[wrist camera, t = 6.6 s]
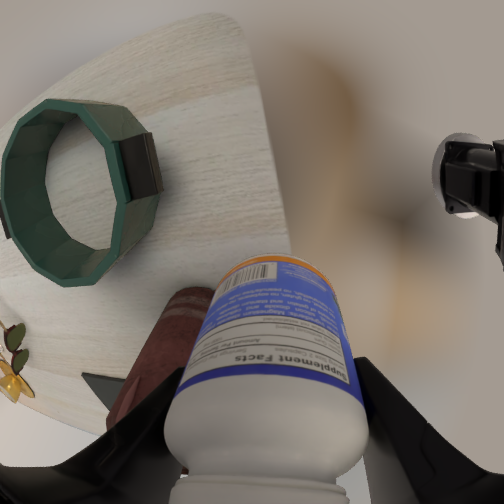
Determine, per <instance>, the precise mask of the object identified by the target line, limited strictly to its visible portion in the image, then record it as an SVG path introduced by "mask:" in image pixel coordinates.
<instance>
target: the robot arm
mask: <svg viewBox="0 0 504 504" xmlns="http://www.w3.org/2000/svg"><path fill="white" fill-rule="evenodd" d="M449 145H451V149H450V148H449ZM489 148H490V151H489ZM493 148H494V149H495V152H494V149H493ZM445 160H446V165H445V173H446V189H445V192H446V202H445V210H446V212H448V213H449V214H457V213H468V212H476V213H478V214H479V215H481V216H483V217H485V218H487V219H488V220H490V221H492V222H493V223H495V224H497V225H498V235H497V244H496V249H495V251H496V253H497V254H498V256H499V258H500V259H501V262H502V264H503V266H504V140H497V141H493V146H492V145H489V144H481V143H471V142H460V141H447V142H446V143H445ZM450 206H451V209H450ZM503 271H504V267H503ZM353 360H354V364H355V369H356V373H357V377H358V381H359V385H360V389H361V394H362V398H363V403H364V407H365V412H366V417H367V423H368V429H369V440H368V444H367V447H366V450H365V452H364V454H363V458H364V464H365V469H366V474H367V480H368V485H369V491H370V498H371V504H504V474H498V473H492V472H489V471H486V470H484V469H482V468H481V467H479V466H478V465H476V464H475V463H474V462H473V461H471V460H470V459H469V458H467V457H466V456H465V455H464V454H462V453H461V452H460V451H459V450H457V449H456V448H455V447H454V446H452V445H451V444H450V443H449V442H448V441H447V440H445V439H444V438H443V437H442V436H441V435H440V434H439V433H438V432H437V431H436V430H435V429H434V428H433V427H432V426H431V424H430V423H427V421H426V419H425V418H424V417H423V416H422V415H421V414H420V413H419V412H418V411H417V410H416V409H415V408H414V407H413V406H412V404H411V403H410V402H408V401H407V399H406V398H405V397H404V396H403V395H402V394H401V393H400V392H399V391H398V390H397V389H396V388H395V387H394V386H393V385H392V384H391V382H390V381H389V380H388V379H387V378H386V377H385V376H384V375H383V374H382V373H381V372H380V371H379V370H378V369H377V368H376V367H375V366H374V365H373V364H372V363H371V362H370V361H369V360H368V359H367V358H366V357H359V358H354V359H353ZM185 367H186V366H179V367H177V368H176V369H175V370H174V371H173V372H172V373H171V374H170V375H169V376H168V377H167V378H166V379H165V380H163V381H162V382H161V383H160V384H159V385H158V386H157V387H156V388H155V389H154V390H153V391H152V392H150V393H149V394H148V395H147V396H146V397H145V398H144V399H143V400H142V401H141V402H139V403H138V404H137V405H136V406H135V407H134V408H133V409H132V410H131V411H129V412H128V413H127V414H126V415H125V416H124V417H123V418H122V419H120V420H119V421H118V422H117V423H116V424H115V425H114V426H113V427H111V428H110V429H109V430H108V431H107V432H106V433H104V434H103V435H102V436H101V437H99V438H98V439H97V440H96V441H94V442H93V443H92V444H90V445H89V446H87V447H86V448H84V449H83V450H82V451H80V452H79V453H77V454H76V455H74V456H73V457H71V458H69V459H68V460H66V461H65V462H63V463H61V464H58V465H55V466H50V467H7V466H3V465H2V464H1V463H0V504H169V499H170V493H171V489H172V488H173V487H174V486H175V483H176V481H177V480H178V479H180V476H181V472H182V467H183V465H182V464H181V463H180V462H179V461H178V460H177V459H176V458H175V457H174V456H173V455H172V453H171V452H170V450H169V449H168V446H167V444H166V441H165V437H164V425H165V420H166V417H167V414H168V411H169V408H170V406H171V404H172V401H173V398H174V396H175V393H176V390H177V388H178V385H179V383H180V380H181V378H182V375H183V372H184V370H185Z"/></svg>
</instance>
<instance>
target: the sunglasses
mask: <svg viewBox="0 0 504 504" xmlns="http://www.w3.org/2000/svg"><path fill="white" fill-rule="evenodd" d="M0 325H1V326H2V328H3V329H4V342H5V346H6V348H7V349H8V351H9V352H11V353H12V354H13V356H12V360H11V366H10V365H9V364H8V362H7V361H6V360H5V358H4V357H3V356H2V354H1V353H0V355H1V357H2V358H3V359H4V361H5V362H6V363H7V365H8V366H9V367H10V368H11V370H12V371H13V373H14V374H15V376H16V377H17V376H18V374H19V372H20V371H21V370H22V369H23V366H24V365H25V363H26V362H27V360H28V357H29V352H28V350H27V349H24V350H22V349H21V350H19V351H18V350H17V349H18V348H19V346H20V345H21V342H22V340H23V338H24V336H25V333H26V328H25V325H24V324H23V323H20V324H18V325H17V326H15V325H13V326H12V327H10V328H9V329H6V328H5V326H4V325H3V323H2V322H1V321H0ZM16 350H17V351H16Z"/></svg>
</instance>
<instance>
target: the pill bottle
mask: <svg viewBox="0 0 504 504" xmlns="http://www.w3.org/2000/svg"><path fill="white" fill-rule="evenodd" d="M164 437H165V441H166V444H167V446H168V449H169V450H170V452H171V453H172V455H173V456H174V457H175V458H176V459H177V460H178V461H179V462H180V463H181V464H182V465H183V466H185V467H186V468H187V469H189V474H188V477H183V478H180V479H178V480H177V481H176V483H175V486H174V487H173V488H172V489H171V493H170V499H169V504H349V499H348V498H347V497H346V491H345V489H344V488H343V487H340V486H338V485H336V478H337V477H339V476H341V475H343V474H344V473H346V472H347V471H349V470H350V469H351V468H352V467H353V466H354V465H355V464H356V463H357V462H358V461H359V460H360V459H361V457H362V456H363V454H364V452H365V450H366V447H367V444H368V440H369V429H368V423H367V417H366V412H365V407H364V403H363V398H362V394H361V389H360V385H359V381H358V377H357V373H356V369H355V364H354V360H353V356H352V353H351V349H350V345H349V341H348V337H347V334H346V330H345V326H344V322H343V319H342V316H341V311H340V308H339V304H338V302H337V298H336V295H335V292H334V290H333V287H332V285H331V283H330V282H329V280H328V279H327V277H326V276H325V275H324V274H323V273H322V272H321V271H320V270H319V269H318V268H316V267H315V266H314V265H312V264H311V263H309V262H307V261H305V260H303V259H301V258H298V257H295V256H292V255H288V254H280V253H267V254H261V255H256V256H253V257H250V258H247V259H245V260H243V261H241V262H240V263H238V264H236V265H235V266H234V267H232V268H231V269H230V270H229V271H228V272H227V273H226V274H225V276H224V277H223V278H222V280H221V281H220V283H219V285H218V287H217V289H216V291H215V293H214V296H213V298H212V301H211V304H210V306H209V309H208V312H207V314H206V317H205V319H204V322H203V324H202V327H201V329H200V332H199V334H198V337H197V339H196V342H195V344H194V347H193V350H192V352H191V355H190V357H189V360H188V362H187V365H186V367H185V370H184V372H183V375H182V378H181V380H180V383H179V385H178V388H177V390H176V393H175V396H174V398H173V401H172V404H171V406H170V408H169V411H168V414H167V417H166V420H165V425H164Z"/></svg>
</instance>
